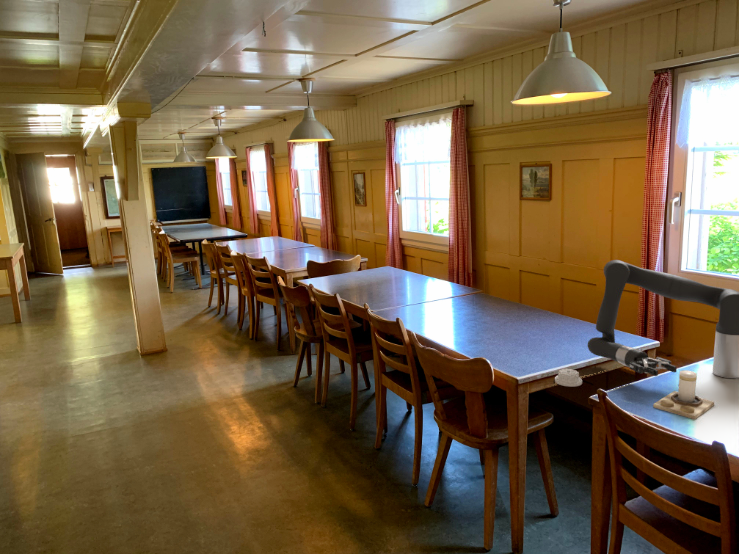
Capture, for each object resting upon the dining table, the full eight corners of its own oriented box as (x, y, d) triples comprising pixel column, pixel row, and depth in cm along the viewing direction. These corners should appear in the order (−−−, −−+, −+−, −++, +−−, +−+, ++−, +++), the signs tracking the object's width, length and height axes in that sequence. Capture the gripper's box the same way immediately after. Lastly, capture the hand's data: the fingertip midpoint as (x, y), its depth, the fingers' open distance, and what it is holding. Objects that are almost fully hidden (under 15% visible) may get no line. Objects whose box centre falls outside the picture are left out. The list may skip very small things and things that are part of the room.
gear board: (674, 394, 193) (674, 388, 192) (714, 405, 183) (714, 398, 182) (653, 407, 183) (653, 401, 183) (694, 419, 173) (695, 413, 173)
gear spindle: (681, 396, 188) (683, 369, 186) (697, 400, 184) (699, 373, 182) (675, 400, 184) (677, 373, 183) (691, 404, 180) (693, 377, 179)
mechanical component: (553, 385, 206) (581, 388, 202) (553, 374, 205) (581, 377, 201) (556, 376, 215) (582, 379, 211) (556, 366, 214) (583, 368, 210)
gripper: (617, 351, 203) (651, 364, 188) (646, 346, 207) (682, 358, 192) (616, 369, 205) (650, 384, 189) (645, 364, 209) (681, 378, 194)
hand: (666, 371), depth 191 cm, fingers open, 8 cm apart
